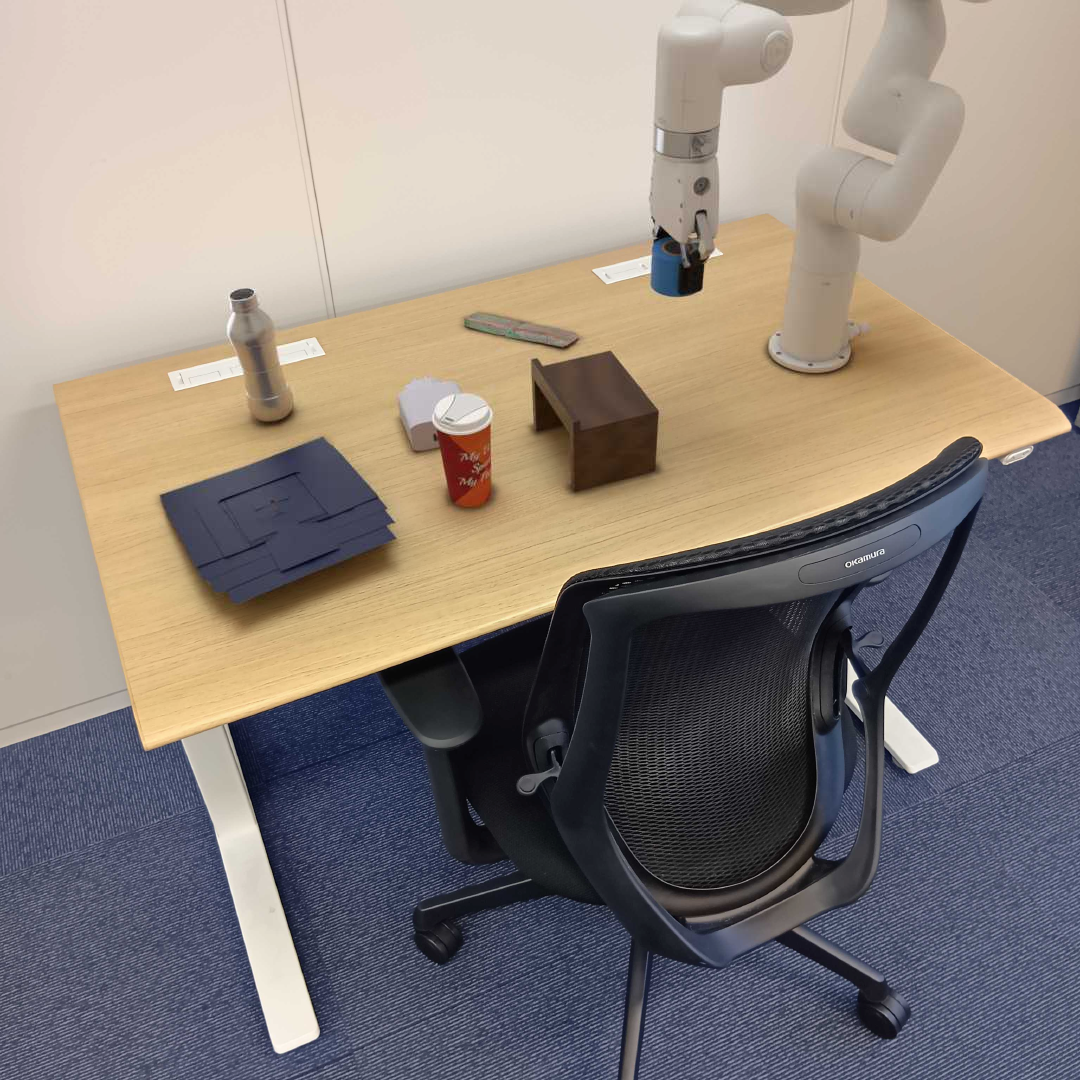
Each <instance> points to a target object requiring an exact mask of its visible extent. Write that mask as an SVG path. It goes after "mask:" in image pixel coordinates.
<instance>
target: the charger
mask: <svg viewBox="0 0 1080 1080" xmlns="http://www.w3.org/2000/svg"><path fill="white" fill-rule="evenodd" d="M454 394H464V393H463V391H462V389H461V387H460V385H459V383H458V382H457V381H448V380H447V381H442V380H441V379H439V378H436V377H431V376H430V377H428V375H426V374H425V375H423V378H421V379H420V378H419V379H417V377H412V381H411V382H410V383H408V384H407V385H405V387H404V390H403V391H401V392H400V393H398V395H397V404H398V410H399V416H400V418H401V420H402V424H403V427H404V429H405V431H406V433H407V437H408V439H409V441H410V445H411V448H412V449H413V451H417V452H424V451H428V450H433V449H438V448H440V446H439V441H438V435H437V430H436V427H435V426H434V424H433V422H432V415H433V413H434V411H435V407H436V405H437V404H438V402H439V401H441V400H442V399H444V398H445V397H448V396H450V395H454Z"/></svg>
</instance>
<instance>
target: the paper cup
mask: <svg viewBox="0 0 1080 1080" xmlns="http://www.w3.org/2000/svg"><path fill="white" fill-rule="evenodd" d="M493 418H494V413H493V410H492V408H491V407H490V406H489V405H488V403H487V402H486V399H484V398H483V397H481V396H479V395H476V394H473V393H463V394H454V395H450V396H448V397H445V398H444V399H442V400H441V401H439V402H438V404H437V405H436V407H435V411H434V413H433V415H432V422H433V424H434V426H435V427H436V430H437V435H438V441H439V446H440V447H439V449H440V455H441V460H442V467H443V471H444V476H445V480H446V485H447V486H446V487H447V490H448V495H449V498H450V500H451V502H453V503H454V504H455V505H457V506H459V507H463V508H474V507H479V506H481V505H483V504H485V503H486V502H488V500H489V499H490V498H491V496H492V495H491V494H492V432H491V431H492V426H491V423H492V422H493Z"/></svg>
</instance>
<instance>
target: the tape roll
mask: <svg viewBox="0 0 1080 1080" xmlns="http://www.w3.org/2000/svg"><path fill="white" fill-rule="evenodd" d="M692 238H693V237H689V236H688V239H692ZM688 246H689V254H691V253H692V252H693V251H695V250H697V243H695V244H691V245H688ZM650 264H651V265H650V287H651V289H652V290H653V291H654V292H656V293H657V294H659V295H662V296H664V297H670V298H682V297H683V298H685V297H689V296H693V295H695V294H697V293H698V292H695V293H690V294H686V295H680V294H679V293H678V276H679V265H680V264H683V262H682V255H681V247H680V243H679V242H678V241H676V240H675V239H674V238H673V237H667V238H663V239H660V240H658V241H657V242H655V243H654V245H652V247H651V262H650Z"/></svg>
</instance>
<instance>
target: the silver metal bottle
mask: <svg viewBox="0 0 1080 1080" xmlns="http://www.w3.org/2000/svg"><path fill="white" fill-rule="evenodd" d="M228 301H229V308H230V311H232V313H231V315H230V316H229V319H228V323H227V325H226V334H227V335H226V336H227V337H228V340H229V342H230V344H231V346H232V348H233V351H234V353H235V354H236V357H237V360H238V362H239V366H240V368H241V371H242V373H243V380H244V384H245V385H244V386H245V389H246V391H245V392H246V393H245V394H246V402H247V403H246V404H247V407H248V409H249V411H250V413H251V415H252V416H253V417H254V418H256V419H257V420H258V421H261V422H266V423H267V422H268V423H270V422H271V423H272V422H276V421H280V420H282V419H284V418H286V417H287V416H288V415H289V414H290V413H291V411H292V409H293V407H294V395H293V393H292V390H291V387H290V386H289V383H288V382H287V380H286V377H285V375H284V372H283V369H282V366H281V363H280V362H281V361H280V358H279V353H278V348H277V339H276V338H277V335H276V327H275V324H274V321H273V319H272V318H271V316H270V315H269V314H268V313H267V312H266V311H265V310H263V309H262V308H260V307H259V306H260V302H259V301H260V300H259V298H258V296H257V292H256V290H255V289H254V288H251V287H240V288H236V289H234V290H232V291H231V292H230V293H229V294H228Z"/></svg>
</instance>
